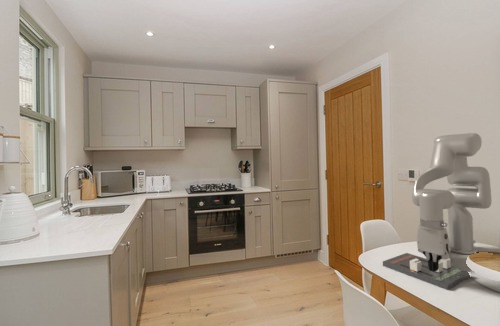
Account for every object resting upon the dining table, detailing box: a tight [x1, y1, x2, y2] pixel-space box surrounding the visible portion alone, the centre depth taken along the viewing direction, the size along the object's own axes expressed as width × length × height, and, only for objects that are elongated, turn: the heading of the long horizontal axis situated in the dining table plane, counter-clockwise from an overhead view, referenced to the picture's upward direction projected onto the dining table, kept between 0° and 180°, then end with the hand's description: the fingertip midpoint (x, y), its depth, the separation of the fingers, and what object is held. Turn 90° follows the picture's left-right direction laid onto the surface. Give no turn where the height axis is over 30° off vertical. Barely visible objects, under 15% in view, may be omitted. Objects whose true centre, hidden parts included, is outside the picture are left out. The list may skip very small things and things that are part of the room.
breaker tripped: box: [410, 259, 422, 272], centre depth 108 cm, size 3×3×4 cm
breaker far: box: [440, 258, 452, 269], centre depth 109 cm, size 3×3×4 cm
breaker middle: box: [436, 260, 443, 272], centre depth 107 cm, size 3×3×4 cm
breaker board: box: [382, 252, 471, 291], centre depth 111 cm, size 18×26×2 cm
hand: (433, 270), depth 102 cm, fingers closed
